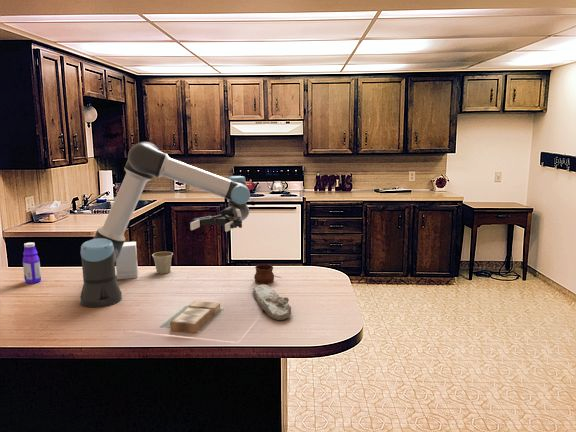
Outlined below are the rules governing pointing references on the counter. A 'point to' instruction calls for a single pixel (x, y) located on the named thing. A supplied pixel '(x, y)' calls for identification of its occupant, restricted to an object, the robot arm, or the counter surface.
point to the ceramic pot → (264, 274)
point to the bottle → (31, 264)
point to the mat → (167, 323)
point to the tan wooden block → (207, 306)
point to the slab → (191, 320)
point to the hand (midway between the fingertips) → (208, 227)
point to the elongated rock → (272, 302)
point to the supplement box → (127, 261)
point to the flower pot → (162, 261)
